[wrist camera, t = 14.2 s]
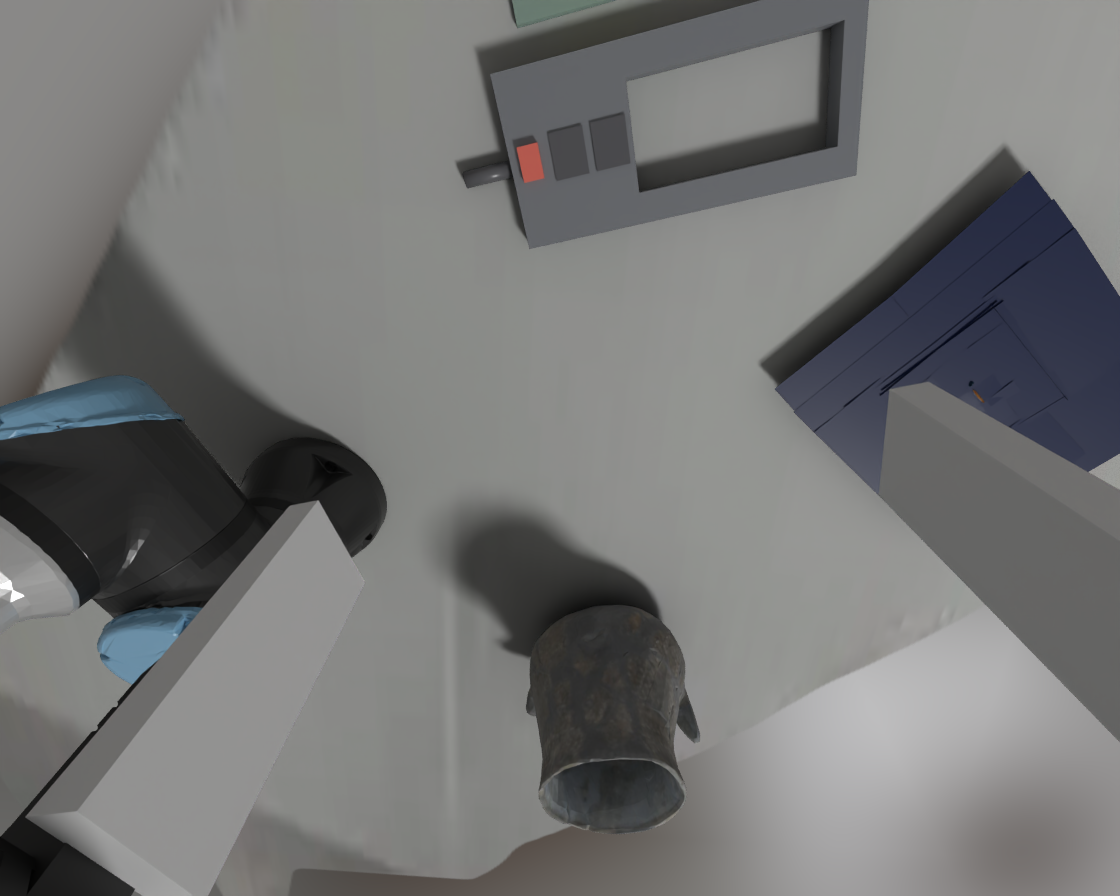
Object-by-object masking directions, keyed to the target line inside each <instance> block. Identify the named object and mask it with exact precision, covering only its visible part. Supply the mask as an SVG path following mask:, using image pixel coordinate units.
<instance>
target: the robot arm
mask: <svg viewBox="0 0 1120 896" xmlns="http://www.w3.org/2000/svg"><path fill="white" fill-rule="evenodd" d="M184 420H185V419H184V418H183V417H182V416H181V415H180V414H178V413H175V412H174V411H173V410H172V409H171V408H170V407H169V406H168V405H167V404H166V403H165V402H164V400H163V399H162V398H161V397H160V396H159V395H158V394H157V393H156V392H155V391H154V389H153V388H152V387H151V386H150V385H148V384H147V383H146V382H144V381H142V380H140V379H138V378H135V377H131V376H124V375H116V376H108V377H103V378H98V379H93V380H90V381H86V382H82V383H78V384H74V385H70V386H67V387H63V388H60V389H56V390H52V391H49V392H46V393H42V394H39V395H36V396H32V397H29V398H26V399H22V400H19V401H16V402H13V403H10V404H7V405H4V406H1V407H0V634H2V633H3V632H5V631H6V630H7V629H9V628H10V627H11V626H13V625H14V624H16V623H18V622H21V621H25V620H29V619H38V618H48V617H59V616H67V615H70V614H71V613H73V612H74V611H75V610H77V609H78V608H80V607H81V606H82V605H83V604H85V603H86V602H87V601H89V600H90V599H93V600H94V601H95V602H96V603H97V604H99V605H100V606H101V607H102V608H103V609H104V610H106V611H107V612H108V613H109V614H110V615H111V616H112V617H113V618H114V619H113V620H111V621H110V622H109V623H107V624H106V625H105V627H104V628H103V632H102V634H101V636H100V638H99V640H98V643H97V649H98V652H100V653H101V654H100V658H101V660H102V662H103V663H104V665H105V666H106V667H107V668H108V669H109V670H110V671H112V672H113V673H114V674H115V675H117V676H118V677H120V678H121V679H123V680H125V681H126V682H128V683H130V684H132V686H131V687H130V688H129V689H128V690H127V691H126V693H125V694H124V695H123V696H122V697H121V698H120V700H119V701H118V706H117V707H113V708H112V709H111V710H110V711H109V712H108V713H107V715H106V716H105V717H104V718H103V719H102V720H101V722H100V723H99V724H98V725H97V726H98V729H97V730H96V731H92V732H91V733H90V734H89V736H88V737H87V738H86V739H85V740H84V741H83V743H82V744H81V745H80V746H79V747H78V748H77V750H76V751H75V752H74V753H73V754H72V755H71V757H70V758H69V759H68V760H67V761H66V762H65V763H64V765H63V766H62V767H61V768H60V769H59V770H58V772H57V773H56V774H55V775H54V776H53V777H52V779H51V780H50V781H49V782H48V783H47V784H46V786H45V787H44V788H43V789H42V790H41V791H40V793H39V794H38V795H37V796H36V797H35V798H34V800H33V801H32V802H31V803H30V804H29V805H28V806H27V808H26V809H25V810H24V811H23V812H22V813H21V815H20V816H19V817H18V818H17V819H16V821H15V822H14V823H13V824H12V825H11V826H10V827H9V828H8V829H7V830H6V831H5V833H4V834H3V835H2V836H1V837H0V896H131V895H132V893H133V892H134V890H135V891H136V892H138V893H139V894H141V895H142V896H208V894H209V892H210V891H211V889H212V887H213V885H214V883H215V881H216V879H217V877H218V875H219V873H220V871H221V869H222V867H223V865H224V863H225V861H226V859H227V857H228V855H229V853H230V851H231V849H232V847H233V845H234V843H235V841H236V839H237V837H238V835H239V833H240V831H241V829H242V827H243V825H244V823H245V821H246V819H247V817H248V815H249V813H250V811H251V809H252V807H253V805H254V803H255V801H256V799H257V797H258V795H259V793H260V791H261V789H262V787H263V785H264V783H265V781H266V779H267V777H268V775H269V773H270V771H271V769H272V767H273V765H274V763H275V761H276V759H277V757H278V755H279V753H280V751H281V749H282V747H283V745H284V743H285V741H286V739H287V737H288V735H289V733H290V731H291V729H292V727H293V725H294V723H295V721H296V719H297V717H298V715H299V713H300V711H301V709H302V707H303V705H304V703H305V701H306V699H307V697H308V695H309V693H310V691H311V689H312V687H313V685H314V683H315V681H316V679H317V677H318V675H319V674H320V672H321V670H322V668H323V666H324V664H325V662H326V660H327V658H328V656H329V654H330V652H331V650H332V648H333V646H334V644H335V642H336V640H337V638H338V636H339V634H340V632H341V630H342V628H343V626H344V624H345V622H346V620H347V618H348V616H349V614H350V612H351V610H352V608H353V606H354V604H355V602H356V600H357V598H358V596H359V594H360V592H361V590H362V588H363V586H364V584H365V581H364V579H363V577H362V576H361V574H360V572H359V571H358V569H357V567H356V565H355V564H354V562H353V560H352V557H354V556H355V555H356V554H358V553H359V552H360V551H361V550H363V549H364V548H365V547H367V546H368V545H369V544H370V543H371V541H372V540H373V539H374V538H375V536H376V535H377V533H378V531H379V529H380V527H381V526H382V524H383V522H384V519H385V516H386V511H387V501H386V496H385V492H384V489H383V487H382V485H381V483H380V481H379V479H378V478H377V476H376V475H375V473H374V472H373V471H372V470H371V468H370V467H369V466H368V465H367V464H366V463H365V462H363V461H362V460H361V459H360V458H359V457H357V456H356V455H354V454H353V453H351V452H350V451H348V450H346V449H344V448H342V447H340V446H338V445H335V444H333V443H330V442H327V441H323V440H318V439H311V438H295V439H288V440H284V441H281V442H279V443H276V444H274V445H272V446H271V447H269V448H268V449H267V450H265V451H264V452H263V453H262V454H261V455H260V456H259V457H258V458H256V459H255V460H254V461H253V463H252V464H251V465H250V466H249V468H248V469H247V471H246V473H245V475H244V478H243V481H242V485H241V488H240V489H239V488H238V487H237V486H236V484H235V483H234V482H233V481H232V480H231V478H230V477H229V476H228V475H227V474H226V472H225V471H224V470H223V469H222V468H221V466H220V465H219V464H218V463H217V462H216V460H215V459H214V458H213V457H212V456H211V454H210V453H209V452H208V451H207V450H206V448H205V447H204V446H203V445H202V444H201V442H200V441H199V440H198V439H197V438H196V436H195V435H194V434H193V433H192V432H191V430H190V429H189V428H188V427H187V426H186V424H185V423H184V422H183V421H184ZM879 496H880V497H881V498H882V499H883V500H884V501H885V502H886V503H887V504H888V505H889V506H890V507H891V508H892V509H893V510H894V511H895V513H896V514H897V515H898V516H899V517H900V518H901V519H902V520H903V521H904V522H905V523H906V524H907V525H908V526H909V527H910V528H911V529H912V530H913V531H914V532H915V533H916V534H917V535H918V536H919V537H920V538H921V539H922V540H923V541H924V542H925V543H926V544H927V545H928V546H929V547H930V548H931V549H932V550H933V551H934V552H935V553H936V554H937V556H938V557H939V558H940V559H941V560H942V561H943V562H944V563H945V564H946V565H947V566H948V567H949V568H950V569H951V570H952V571H953V572H954V573H955V574H956V575H957V576H958V577H959V578H960V579H961V580H962V581H963V582H964V583H965V584H966V585H967V586H968V587H969V588H970V589H971V590H972V591H973V592H974V593H975V594H976V595H977V596H978V597H979V599H980V600H981V601H982V602H983V603H984V604H985V605H986V606H987V607H988V608H989V609H990V610H991V611H992V612H993V613H994V614H995V615H996V616H997V617H998V618H999V619H1000V620H1001V621H1002V622H1003V623H1004V624H1005V625H1006V626H1007V627H1008V628H1009V629H1010V630H1011V631H1012V632H1013V633H1014V634H1015V635H1016V636H1017V637H1018V638H1019V639H1020V640H1021V641H1022V643H1024V644H1025V646H1026V647H1027V648H1028V649H1029V650H1030V651H1031V652H1032V653H1033V654H1034V655H1035V656H1036V657H1037V658H1038V659H1039V660H1040V661H1041V662H1042V663H1043V664H1044V665H1045V666H1046V667H1047V668H1048V669H1049V670H1050V671H1051V672H1052V673H1053V674H1054V675H1055V676H1056V677H1057V678H1058V679H1059V680H1060V681H1061V682H1062V683H1063V684H1064V686H1065V687H1066V688H1068V690H1069V691H1070V692H1071V693H1072V694H1073V695H1074V696H1075V697H1076V698H1077V699H1078V700H1079V701H1080V702H1081V703H1082V704H1083V705H1084V706H1085V707H1086V708H1087V709H1088V710H1089V711H1090V712H1091V713H1092V714H1093V715H1094V716H1095V717H1096V718H1097V719H1098V720H1099V721H1100V722H1101V723H1102V724H1103V725H1104V726H1105V728H1106V729H1107V730H1108V731H1109V732H1111V734H1112V735H1113V736H1114V737H1115V738H1116V739H1117V740H1118V741H1119V742H1120V490H1119V489H1117V488H1115V487H1113V486H1112V485H1110V484H1108V483H1106V482H1105V481H1103V480H1101V479H1099V478H1098V477H1096V476H1094V475H1092V474H1090V473H1089V472H1087V471H1085V470H1083V469H1082V468H1080V467H1078V466H1076V465H1075V464H1073V463H1071V462H1069V461H1068V460H1066V459H1064V458H1062V457H1060V456H1059V455H1057V454H1055V453H1053V452H1052V451H1050V450H1048V449H1046V448H1045V447H1043V446H1041V445H1039V444H1038V443H1036V442H1034V441H1032V440H1030V439H1029V438H1027V437H1025V436H1023V435H1022V434H1020V433H1018V432H1016V431H1015V430H1013V429H1011V428H1009V427H1008V426H1006V425H1004V424H1002V423H1000V422H999V421H997V420H995V419H993V418H992V417H990V416H988V415H986V414H985V413H983V412H981V411H979V410H978V409H976V408H974V407H972V406H970V405H969V404H967V403H965V402H963V401H962V400H960V399H958V398H956V397H955V396H953V395H951V394H949V393H948V392H946V391H944V390H942V389H940V388H939V387H937V386H935V385H933V384H932V383H930V382H924V383H919V384H914V385H909V386H904V387H899V388H894V389H890V390H889V400H888V410H887V419H886V429H885V439H884V449H883V459H882V469H881V479H880V488H879Z"/></svg>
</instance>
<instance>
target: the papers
mask: <svg viewBox="0 0 1120 896" xmlns="http://www.w3.org/2000/svg"><path fill="white" fill-rule="evenodd" d="M924 382H930V383H932V384H933V385H935V386H937V387H939V388H940V389H942V390H944V391H946V392H948V393H949V394H951V395H953V396H955V397H956V398H958V399H960V400H962V401H963V402H965V403H967V404H969V405H970V406H972V407H974V408H976V409H978V410H979V411H981V412H983V413H985V414H986V415H988V416H990V417H992V418H993V419H995V420H997V421H999V422H1000V423H1002V424H1004V425H1006V426H1008V427H1009V428H1011V429H1013V430H1015V431H1016V432H1018V433H1020V434H1022V435H1023V436H1025V437H1027V438H1029V439H1030V440H1032V441H1034V442H1036V443H1038V444H1039V445H1041V446H1043V447H1045V448H1046V449H1048V450H1050V451H1052V452H1053V453H1055V454H1057V455H1059V456H1060V457H1062V458H1064V459H1066V460H1068V461H1069V462H1071V463H1073V464H1075V465H1076V466H1078V467H1080V468H1082V469H1083V470H1085V471H1087V472H1089V471H1091V470H1092V469H1094V468H1096V467H1097V466H1099V465H1101V464H1102V463H1104V462H1106V461H1108V460H1109V459H1111V458H1113V457H1114V456H1116V455H1118V454H1120V296H1119V295H1118V293H1117V292H1116V290H1115V289H1114V287H1113V285H1112V284H1111V282H1110V281H1109V279H1108V278H1107V276H1106V275H1105V273H1104V272H1103V270H1102V269H1101V267H1100V265H1099V264H1098V262H1097V261H1096V259H1095V258H1094V256H1093V255H1092V253H1091V252H1090V250H1089V249H1088V247H1087V245H1086V244H1085V242H1084V241H1083V239H1082V238H1081V236H1080V235H1079V233H1078V232H1077V230H1076V229H1075V228H1074V227H1073V225H1072V224H1071V222H1070V221H1069V220H1068V218H1067V217H1066V215H1065V214H1064V213H1063V211H1062V210H1061V208H1060V207H1059V206H1058V204H1057V203H1056V201H1055V200H1054V199H1053V200H1051V199H1050V197H1049V196H1048V195H1047V193H1046V192H1045V191H1044V190H1043V188H1042V187H1041V186H1040V184H1039V183H1038V182H1037V180H1036V179H1035V178H1034V176H1033V175H1032V174H1031V172H1030V171H1029V172H1028V173H1026V174H1025V175H1024V176H1023V177H1022V178H1021V179H1020V180H1019V181H1018V182H1017V183H1015V184H1014V185H1013V186H1012V187H1011V188H1010V189H1009V190H1008V191H1007V192H1005V193H1004V194H1003V195H1002V196H1001V197H1000V198H999V199H998V200H997V201H996V202H994V203H993V204H992V205H991V206H990V207H989V208H988V209H987V210H986V211H985V212H983V213H982V214H981V215H980V216H979V217H978V218H977V219H976V220H975V221H973V222H972V223H971V224H970V225H969V226H968V227H967V228H966V229H965V230H964V231H962V232H961V233H960V234H959V235H958V236H957V237H956V238H955V239H954V240H953V241H951V242H950V243H949V244H948V245H947V246H946V247H945V248H944V249H943V250H941V251H940V252H939V253H938V254H937V255H936V256H935V257H934V258H933V259H932V260H930V261H929V262H928V263H927V264H926V265H925V266H924V267H923V268H922V269H921V270H919V271H918V272H917V273H916V274H915V275H914V276H913V277H912V278H911V279H909V280H908V281H907V282H906V283H905V284H904V285H903V286H902V287H901V288H900V289H898V290H897V291H896V292H895V293H894V294H893V295H892V296H891V297H889V298H888V299H887V300H886V301H884V302H883V303H882V304H881V305H879V306H878V307H877V308H876V309H874V310H873V311H872V312H871V313H869V314H868V315H867V316H866V317H864V318H863V319H862V320H860V321H859V322H858V323H857V324H855V325H854V326H853V327H852V328H850V329H849V330H848V331H847V332H845V333H844V334H843V335H842V336H840V337H839V338H838V339H837V340H835V341H834V342H833V343H832V344H830V345H829V346H828V347H827V348H825V349H824V350H823V351H822V352H820V353H819V354H818V355H817V356H815V357H814V358H813V359H812V360H810V361H809V362H808V363H806V364H805V365H804V366H803V367H801V368H800V369H799V370H798V371H796V372H795V373H794V374H793V375H791V376H790V377H789V378H788V379H786V380H785V381H784V382H783V383H781V384H780V385H779V386H778V387H776V388H775V390H776V391H777V392H778V393H779V394H780V395H781V397H782V398H783V399H784V400H785V401H786V402H787V403H788V404H789V405H790V406H791V407H792V409H793V410H794V413H795V414H796V415H797V416H798V417H799V418H800V419H801V420H802V421H803V422H804V423H805V424H806V425H807V426H808V427H809V428H810V429H811V430H812V431H813V432H814V433H815V434H816V435H817V436H818V437H819V438H820V439H821V440H822V441H823V442H824V443H825V444H827V445H828V446H829V447H830V448H831V449H832V450H833V451H834V452H835V453H836V454H837V455H838V456H839V457H840V458H841V459H842V460H843V461H844V462H845V463H846V464H847V465H848V466H849V467H850V468H851V469H852V470H853V471H854V472H855V473H856V474H857V475H858V476H859V477H860V478H861V479H862V480H863V481H864V482H865V483H866V484H868V485H869V486H870V487H871V488H872V489H873V490H874V491H875V492H876V493H877V494H878V495H879V488H880V479H881V469H882V459H883V449H884V439H885V429H886V419H887V410H888V400H889V390H890V389H894V388H899V387H904V386H909V385H914V384H919V383H924Z"/></svg>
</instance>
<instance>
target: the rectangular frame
mask: <svg viewBox="0 0 1120 896" xmlns="http://www.w3.org/2000/svg"><path fill="white" fill-rule="evenodd" d="M868 6H869V0H759V1H756V2H752V3H748V4H745V5H741V6H737V7H734V8H730V9H726V10H723V11H719V12H715V13H712V14H708V15H705V16H701V17H697V18H694V19H690V20H686V21H683V22H679V23H675V24H672V25H668V26H664V27H661V28H657V29H653V30H650V31H646V32H642V33H639V34H635V35H631V36H628V37H624V38H620V39H617V40H613V41H609V42H606V43H602V44H599V45H595V46H591V47H588V48H584V49H580V50H577V51H573V52H569V53H566V54H562V55H558V56H555V57H551V58H547V59H544V60H540V61H536V62H533V63H529V64H525V65H522V66H518V67H514V68H511V69H507V70H504V71H500V72H496V73H493V74H490V76H491V81H492V85H493V89H494V94H495V98H496V103H497V107H498V112H499V116H500V121H501V125H502V129H503V134H504V138H505V143H506V147H507V152H508V156H509V161H505V162H501V163H497V164H493V165H489V166H485V167H481V168H477V169H473V170H469V171H465V172H463V177H464V181H465V184H466V187H467V188H471V187H475V186H479V185H483V184H488V183H492V182H496V181H500V180H504V179H508V178H512V177H513V178H514V183H515V187H516V191H517V196H518V200H519V205H520V209H521V214H522V218H523V222H524V227H525V231H526V236H527V240H528V245H529V249H532V248H536V247H541V246H545V245H550V244H554V243H558V242H563V241H567V240H572V239H576V238H581V237H585V236H589V235H594V234H598V233H603V232H607V231H612V230H616V229H620V228H625V227H629V226H634V225H638V224H643V223H647V222H651V221H656V220H660V219H665V218H669V217H674V216H678V215H682V214H687V213H691V212H696V211H700V210H705V209H709V208H713V207H718V206H722V205H727V204H731V203H736V202H740V201H744V200H749V199H753V198H758V197H762V196H767V195H771V194H775V193H780V192H784V191H789V190H793V189H798V188H802V187H807V186H811V185H815V184H820V183H824V182H829V181H833V180H838V179H842V178H846V177H851V176H855V175H856V172H857V158H858V144H859V130H860V117H861V103H862V89H863V75H864V61H865V48H866V34H867V20H868ZM828 28H831V42H830V64H829V87H828V109H827V131H826V148H823V149H819V150H814V151H810V152H806V153H802V154H797V155H793V156H789V157H784V158H780V159H776V160H772V161H767V162H763V163H759V164H755V165H750V166H746V167H742V168H737V169H733V170H729V171H725V172H720V173H716V174H712V175H708V176H703V177H699V178H695V179H690V180H686V181H682V182H678V183H673V184H669V185H665V186H660V187H656V188H652V189H648V190H643V191H639V187H638V178H637V170H636V161H635V153H634V144H633V136H632V127H631V119H630V110H629V102H628V93H627V85H626V81H630V80H634V79H638V78H641V77H645V76H649V75H653V74H657V73H660V72H664V71H668V70H672V69H676V68H679V67H683V66H687V65H691V64H695V63H699V62H702V61H706V60H710V59H714V58H718V57H721V56H725V55H729V54H733V53H737V52H740V51H744V50H748V49H752V48H756V47H760V46H763V45H767V44H771V43H775V42H779V41H782V40H786V39H790V38H794V37H798V36H801V35H805V34H809V33H813V32H817V31H821V30H824V29H828Z"/></svg>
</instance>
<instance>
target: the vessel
mask: <svg viewBox="0 0 1120 896" xmlns="http://www.w3.org/2000/svg"><path fill="white" fill-rule="evenodd" d="M684 679H685V661H684V658H683V654H682V652H681V649H680V647H679V645H678V643H677V641H676V640H675V638H674V636H673V635H672V633H671V632H670V630H669V629H668V628H667V627H666V626H665V625H664V624H663V623H662V622H661V621H660V620H658V619H657V618H656V617H654V616H653V615H651V614H649V613H647V612H645V611H643V610H642V609H639V608H636V607H633V606H626V605H604V606H594V607H590V608H587V609H584V610H581V611H577V612H574V613H572V614H569V615H566V616H564V617H563V618H561V619H559V620H558V621H556V622H555V623H554V624H552V625H551V626H550V627H549V628H548V629H547V630H546V631H545V632H544V633H543V634H542V635H541V636H540V637H539V639H538V640H537V641H536V643H535V644H534V646H533V650H532V654H531V660H530V685H531V687H530V690H529V692H528V697H527V704H526V710H527V713H528V714H530V715H531V716H536V718H537V723H538V728H539V735H540V742H541V747H542V758H543V760H542V773H541V781H540V787H539V800H540V802H541V804H542V806H543V809H544V810H545V811H546V813H547V814H548V815H549V816H551V817H552V818H554V819H555V820H557V821H559V822H561V823H563V824H569V825H572V826H574V827H577V828H581V829H584V830H588V829H589V830H591V831H593V832H599V833H607V834H625V833H635V832H642V831H646V830H649V829H652V828H654V827H657V826H660V825H662V824H664V823H666V822H667V821H668V820H670V819H671V818H672V817H673V816H675V814H677V813H678V812H679V811H680V809H681V808H682V806H683V805H684V803H685V801H686V798H687V792H686V786H685V783H684V781H683V779H682V777H681V774H680V771H679V769H678V766H677V762H676V758H675V753H674V744H673V743H674V735H675V729H676V722H677V724H678V726H679V727H680V729H681V730H682V731H683V732H684V734H685V735H686V736H687V737H688V738H689V739H690V740H691V741H692V742H694V743H697V742H699V741H700V732H699V729H698V726H697V722H696V719H695V715H694V712H693V709H692V706H691V704H690V701H689V698H688V695H687V692H686V689H685V685H684Z"/></svg>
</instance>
